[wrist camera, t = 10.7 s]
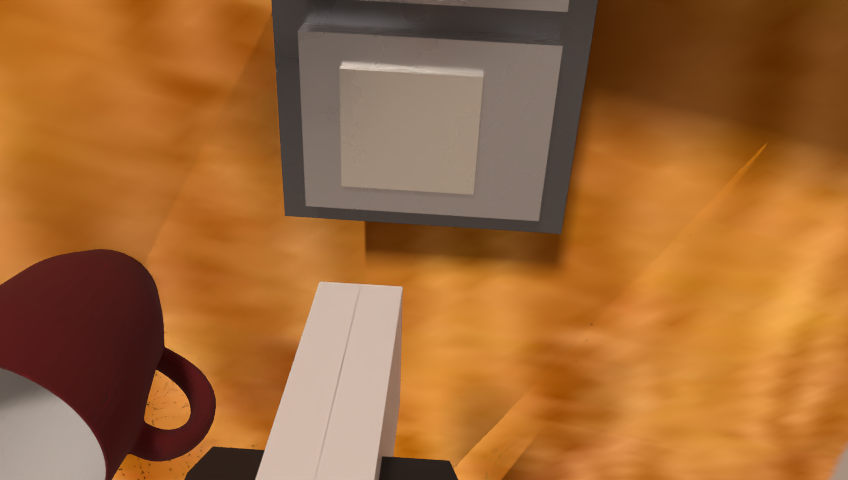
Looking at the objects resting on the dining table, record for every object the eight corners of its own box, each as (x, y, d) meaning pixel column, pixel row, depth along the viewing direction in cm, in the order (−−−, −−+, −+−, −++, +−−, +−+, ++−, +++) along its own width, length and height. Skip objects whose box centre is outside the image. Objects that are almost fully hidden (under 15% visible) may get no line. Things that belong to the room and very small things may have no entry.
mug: (277, 276, 33) (207, 442, 24) (222, 395, 37) (145, 574, 28) (44, 178, 31) (-121, 319, 22) (12, 314, 35) (-139, 479, 26)
